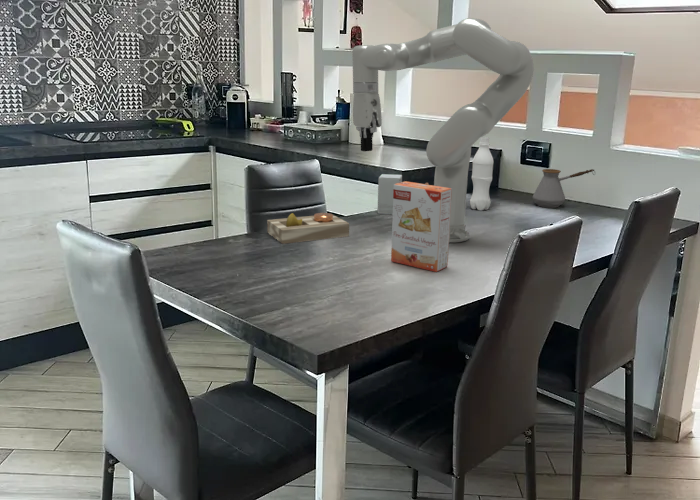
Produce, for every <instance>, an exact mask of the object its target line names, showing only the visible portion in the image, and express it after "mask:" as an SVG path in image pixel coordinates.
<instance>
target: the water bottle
mask: <svg viewBox="0 0 700 500" xmlns="http://www.w3.org/2000/svg"><path fill="white" fill-rule="evenodd" d="M478 145H479V146H478V147H479V148H478V149H477V151H476V153H475V154H474V157H473V159H472V171H471V180H472V186H473V190H472V195H471V197H470V199H469V204H470V207H471V209H472V210H477V211H484V210H485V211H487V210H488V209H490V207H491V203H492V202H491V201H492V199H491V198H490V186H491V184H492V181H493V170H494V164H495V163H494V158H493V154H492V153H491V150H490V147H489V146H490V138H489V137H487V136H486V137H485V136H483V137H480V138H479V143H478Z"/></svg>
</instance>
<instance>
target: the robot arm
mask: <svg viewBox="0 0 700 500" xmlns="http://www.w3.org/2000/svg"><path fill="white" fill-rule="evenodd" d="M351 51H352V52H351V53H352V57H351V58H352V95H353V101H352V103H353V104H352V121H353V122H352V123H353V125H354V126H355V128H356V130H357V131H358V132H359V139H360V151H361V152H371V151H373V138H374V134H375V133H377V131H378V128H381V127H382V123H383V122H382V120H383V119H382V106H381V98H380V93H379V71H384V72H393V71H402V70H407V69H409V68H410V69H411V68H414V67H419V66H422V65H426V64H431V63H436V62H441V61H444V60H449V59H453V58H457V57H461V56H466V55H468V57H470V58H471V59H473V60H475V61H477V62H478V63H480V65H483V66H484V67H486V68H487V69H489V70H490V71H492V72H494V73H496V74H498V75H499V76H498V77H497V78H496V79H495V80H494V81H493V82H492V83H491V84H490V85H489V86H488V87H487V88H486V90H485V91H484V92H483V93H481V95H480V96H479V97H477V99H476V100H475V101H473V102H471V103H469V104H466V105H464V106H461V107H460V108H459V109H458V110H456V111H455V112H454V113H453V114H452V115H451V117H450V118H448V120H446V122H445V123H444V124H442V126H441V127H440V128H439V129H438V130H437V131H436V133H435V134H433V135H432V136H431V138H430V140H428V143H427V145H426V157H427V160H428V161H429V162H430V164H432V165H433V166H434V167H435V169H434V178H433V179H434V181H433V185H434V186H439V187H446V188H451V189H452V196H451V214H450V232H449V243H462V242H466V241H468V240H469V239H470V231H466V224H465V220H466V207H467V204H466V203H467V202H466V201H467V189H468V177H469V176H468V175H469V167H470V163H471V162H470V161H471V154H472V146H473V145H475V144H476V143H477V141H478V140H480V138H481V137H485V136H486V135H488V134H489V133H490V132H491V131H492V130H493V129H494V127H495V126H496V125H497V124H498V123H499V122H500V121H501V120H502V119H503V117H505V116H506V115H507V114H508V113H509V111H510V110H511V109H512V108H513V107H514V106H515V105H516V104H517V102H519V101H520V99H522V97H523V96H524V95H525V94H526V93H527V91H528V90H529V87H530V85H531V83H532V80H533V77H534V76H533V75H534V70H535V69H534V60H533V56H532V53H531V51H530V50H529V48H528V47H527V46H526V44H523V43H522V42H520V41H515V40H509V39H507V38H506V37H504V36H503V35H500V34H499V33H498V32H496V31H494V30H493V29H492V28H491V25H489V23H487V21H485V20H484V19H481V18H474V17H469V18H465V19H461V20H460V21H459V22H458V23H456V24H451V25H448V26H444V27H440V28H436V29H433V30H430V31H429V32H427V34H426V35H424V36H422V37H420V38H416V39H413V40H409V41H405V42H402V43H382V44H375V45H372V44H370V45H369V44H367V45H365V44H364V45H363V44H361V45H355V46H354V47H353V49H352V50H351Z"/></svg>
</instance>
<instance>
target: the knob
mask: <svg viewBox="0 0 700 500" xmlns="http://www.w3.org/2000/svg"><path fill="white" fill-rule="evenodd" d="M296 217H297V216H296V215H295V214H294V213H290V214H289V215H288V216H287V218H288V219H287V222H286V227H292V226H301V225H302V219H300V220H297V218H296Z"/></svg>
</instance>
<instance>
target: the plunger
mask: <svg viewBox="0 0 700 500" xmlns="http://www.w3.org/2000/svg"><path fill="white" fill-rule="evenodd" d="M333 215H334V214H332V213H330V212H329V213H328V212H318V213H317V212H316V213H314V215H313V216H314V221H316V222H318V223H322V222H332V221H333Z"/></svg>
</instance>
